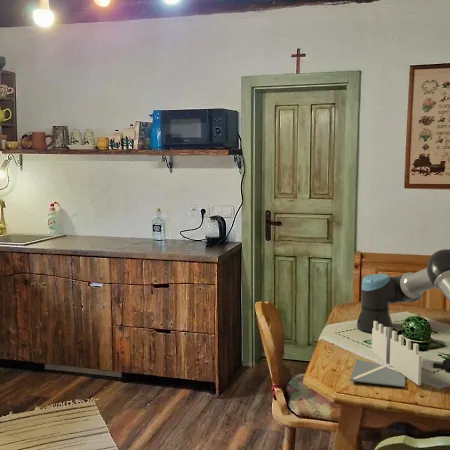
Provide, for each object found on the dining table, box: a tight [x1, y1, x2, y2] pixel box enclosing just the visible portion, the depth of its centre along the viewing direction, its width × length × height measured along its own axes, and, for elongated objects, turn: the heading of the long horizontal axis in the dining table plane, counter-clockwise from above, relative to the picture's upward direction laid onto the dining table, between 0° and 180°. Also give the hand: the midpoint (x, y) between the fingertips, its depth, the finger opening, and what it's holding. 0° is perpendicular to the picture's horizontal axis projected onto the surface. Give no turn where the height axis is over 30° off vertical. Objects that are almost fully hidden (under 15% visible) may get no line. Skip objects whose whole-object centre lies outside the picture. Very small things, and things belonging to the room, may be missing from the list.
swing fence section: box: [390, 330, 423, 386], centre depth 198 cm, size 20×1×13 cm, turn 11°
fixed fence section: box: [371, 321, 394, 364], centre depth 215 cm, size 14×2×14 cm, turn 11°
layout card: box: [349, 358, 406, 388], centre depth 208 cm, size 34×18×1 cm, turn 161°
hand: (422, 362), depth 194 cm, fingers closed
